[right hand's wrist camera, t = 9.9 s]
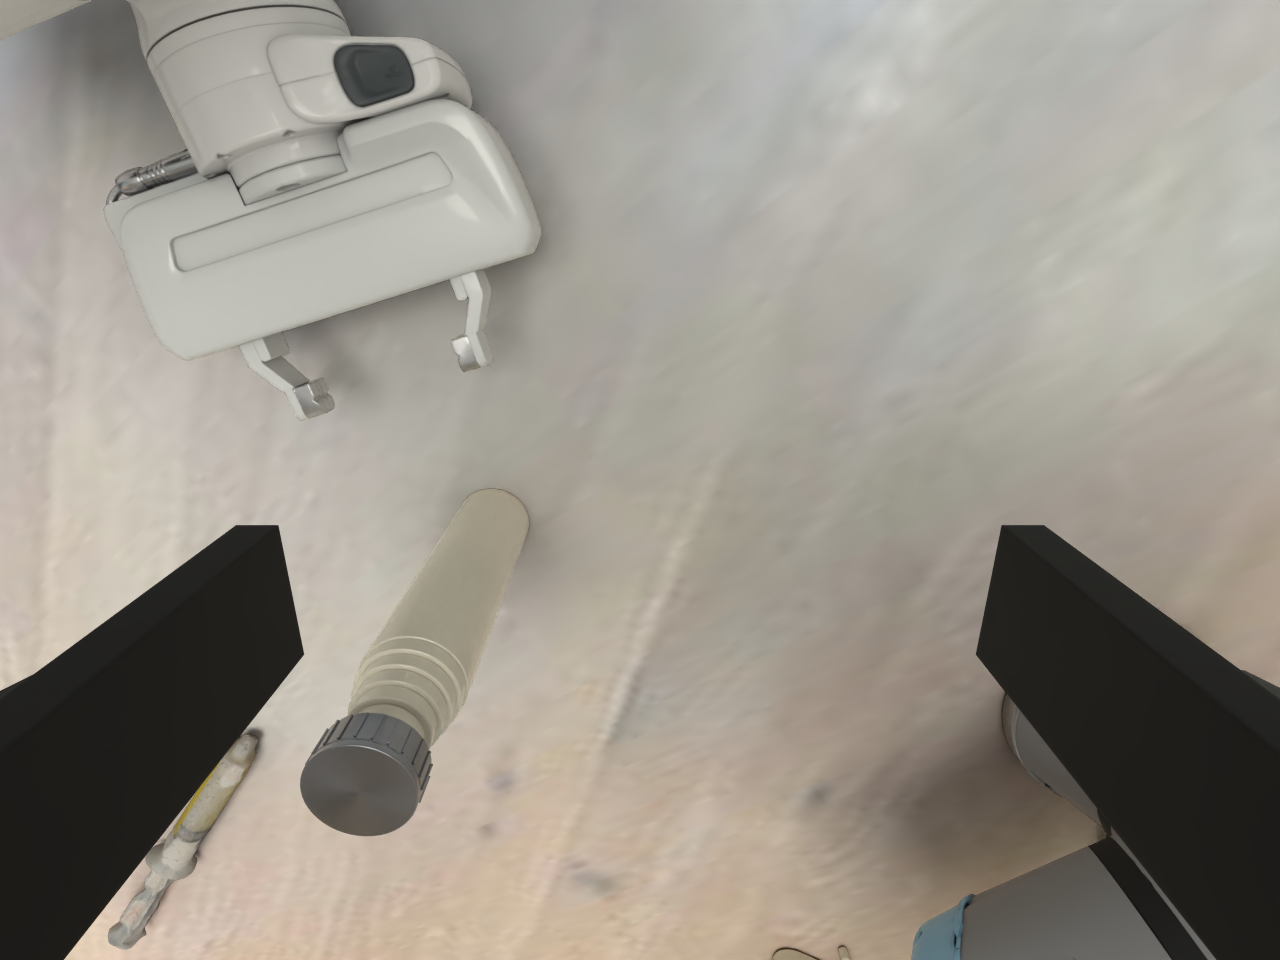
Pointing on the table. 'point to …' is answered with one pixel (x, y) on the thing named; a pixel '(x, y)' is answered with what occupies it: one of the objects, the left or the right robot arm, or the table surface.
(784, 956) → the decorative sign
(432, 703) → the bottle
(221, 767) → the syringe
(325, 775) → the cap
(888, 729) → the table surface
